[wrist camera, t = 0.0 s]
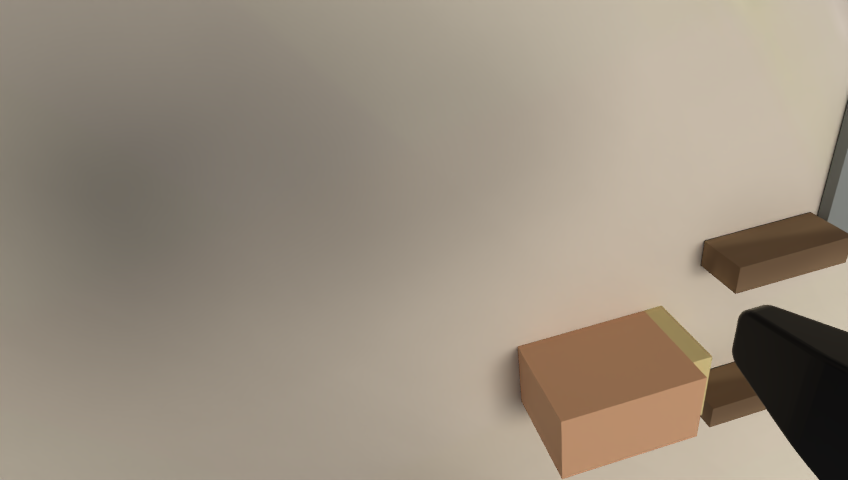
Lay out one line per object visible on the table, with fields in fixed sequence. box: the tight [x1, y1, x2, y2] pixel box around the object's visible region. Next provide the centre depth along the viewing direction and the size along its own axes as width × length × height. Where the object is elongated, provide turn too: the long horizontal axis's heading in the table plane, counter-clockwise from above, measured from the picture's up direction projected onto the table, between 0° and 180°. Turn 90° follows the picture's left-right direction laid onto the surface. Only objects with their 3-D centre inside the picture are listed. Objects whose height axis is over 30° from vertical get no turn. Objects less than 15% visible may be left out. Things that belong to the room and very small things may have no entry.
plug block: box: [518, 306, 712, 479], centre depth 28 cm, size 4×8×5 cm, turn 99°
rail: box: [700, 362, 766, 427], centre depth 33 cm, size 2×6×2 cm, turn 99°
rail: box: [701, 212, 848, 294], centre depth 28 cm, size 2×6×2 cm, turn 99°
